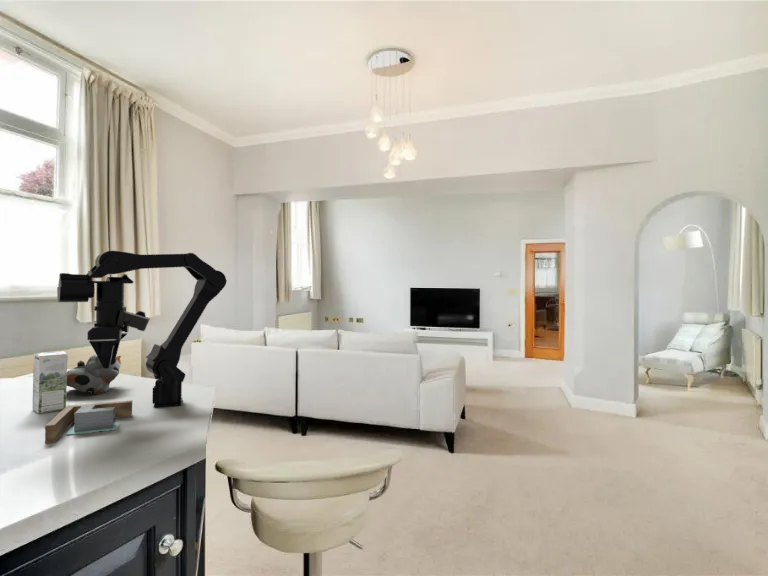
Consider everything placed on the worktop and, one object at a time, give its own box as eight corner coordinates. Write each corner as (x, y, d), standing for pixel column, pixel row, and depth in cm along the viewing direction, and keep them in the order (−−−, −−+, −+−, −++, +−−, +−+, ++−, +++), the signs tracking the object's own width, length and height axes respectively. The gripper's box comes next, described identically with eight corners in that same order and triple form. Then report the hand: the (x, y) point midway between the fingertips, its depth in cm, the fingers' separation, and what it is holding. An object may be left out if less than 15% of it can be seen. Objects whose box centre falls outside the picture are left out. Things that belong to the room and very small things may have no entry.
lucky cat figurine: (73, 386, 130) (100, 345, 135) (110, 402, 131) (135, 360, 135) (46, 383, 116) (77, 337, 121) (88, 400, 117) (117, 354, 121)
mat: (66, 435, 88) (66, 434, 88) (77, 423, 96) (77, 422, 96) (116, 430, 92) (116, 429, 92) (122, 418, 100) (122, 418, 100)
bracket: (74, 432, 90) (74, 413, 90) (82, 422, 96) (82, 405, 96) (112, 428, 92) (112, 410, 92) (118, 419, 98) (118, 402, 98)
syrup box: (60, 405, 110) (61, 350, 110) (66, 409, 106) (67, 352, 106) (32, 410, 106) (33, 352, 106) (38, 414, 102) (39, 355, 102)
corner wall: (132, 414, 103) (132, 400, 103) (121, 435, 89) (121, 418, 89) (67, 420, 98) (67, 405, 98) (45, 443, 84) (45, 425, 84)
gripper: (144, 303, 99) (143, 369, 99) (150, 300, 116) (149, 357, 116) (87, 303, 94) (86, 373, 94) (101, 300, 111) (101, 359, 111)
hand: (109, 365), depth 104 cm, fingers open, 9 cm apart
